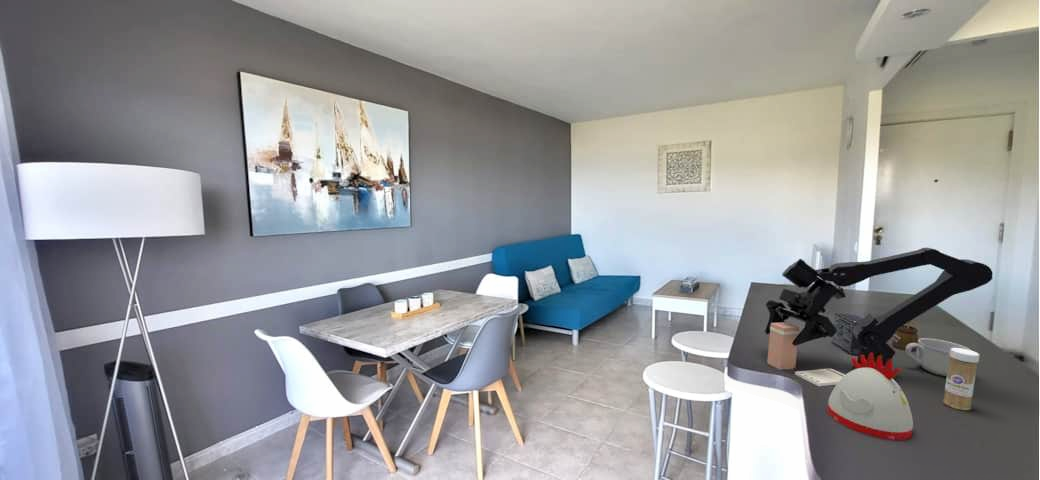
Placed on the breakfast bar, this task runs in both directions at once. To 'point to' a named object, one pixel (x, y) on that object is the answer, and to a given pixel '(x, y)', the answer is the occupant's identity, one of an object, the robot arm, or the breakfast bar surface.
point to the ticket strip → (821, 376)
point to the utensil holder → (905, 336)
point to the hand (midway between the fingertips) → (779, 338)
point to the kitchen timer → (872, 401)
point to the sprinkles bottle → (960, 378)
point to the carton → (782, 345)
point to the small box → (846, 333)
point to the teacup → (933, 354)
